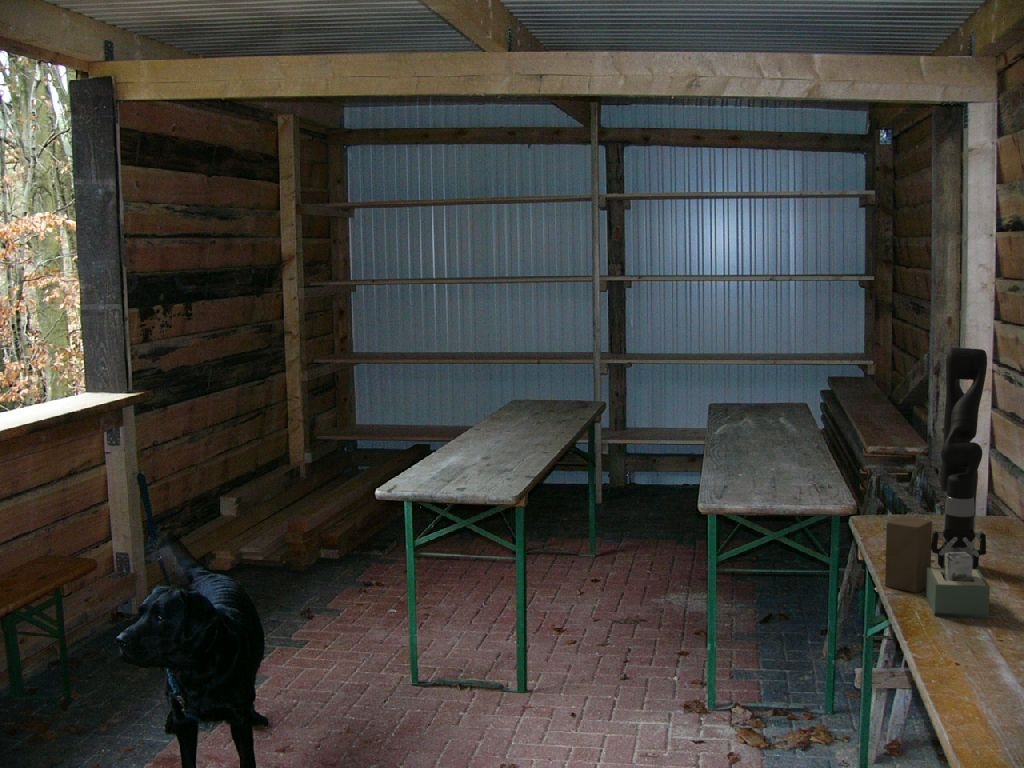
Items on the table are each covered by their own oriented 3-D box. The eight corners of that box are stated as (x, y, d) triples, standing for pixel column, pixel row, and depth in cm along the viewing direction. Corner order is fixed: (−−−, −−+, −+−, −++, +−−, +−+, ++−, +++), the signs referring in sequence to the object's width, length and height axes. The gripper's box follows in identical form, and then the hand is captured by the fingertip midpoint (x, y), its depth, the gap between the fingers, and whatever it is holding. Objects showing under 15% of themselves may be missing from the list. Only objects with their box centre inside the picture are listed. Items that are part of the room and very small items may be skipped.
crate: (926, 597, 328) (927, 567, 326) (977, 599, 325) (978, 569, 323) (934, 616, 312) (935, 584, 311) (988, 618, 309) (989, 586, 308)
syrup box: (963, 600, 321) (965, 551, 319) (971, 607, 315) (972, 557, 313) (943, 600, 321) (944, 551, 319) (950, 607, 316) (952, 557, 313)
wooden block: (884, 586, 338) (885, 522, 335) (898, 578, 345) (900, 515, 342) (916, 593, 331) (918, 527, 328) (930, 585, 338) (932, 520, 335)
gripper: (984, 509, 317) (982, 565, 319) (930, 507, 319) (929, 563, 322) (989, 516, 309) (987, 573, 312) (934, 514, 312) (933, 571, 315)
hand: (957, 567), depth 317 cm, fingers open, 8 cm apart
